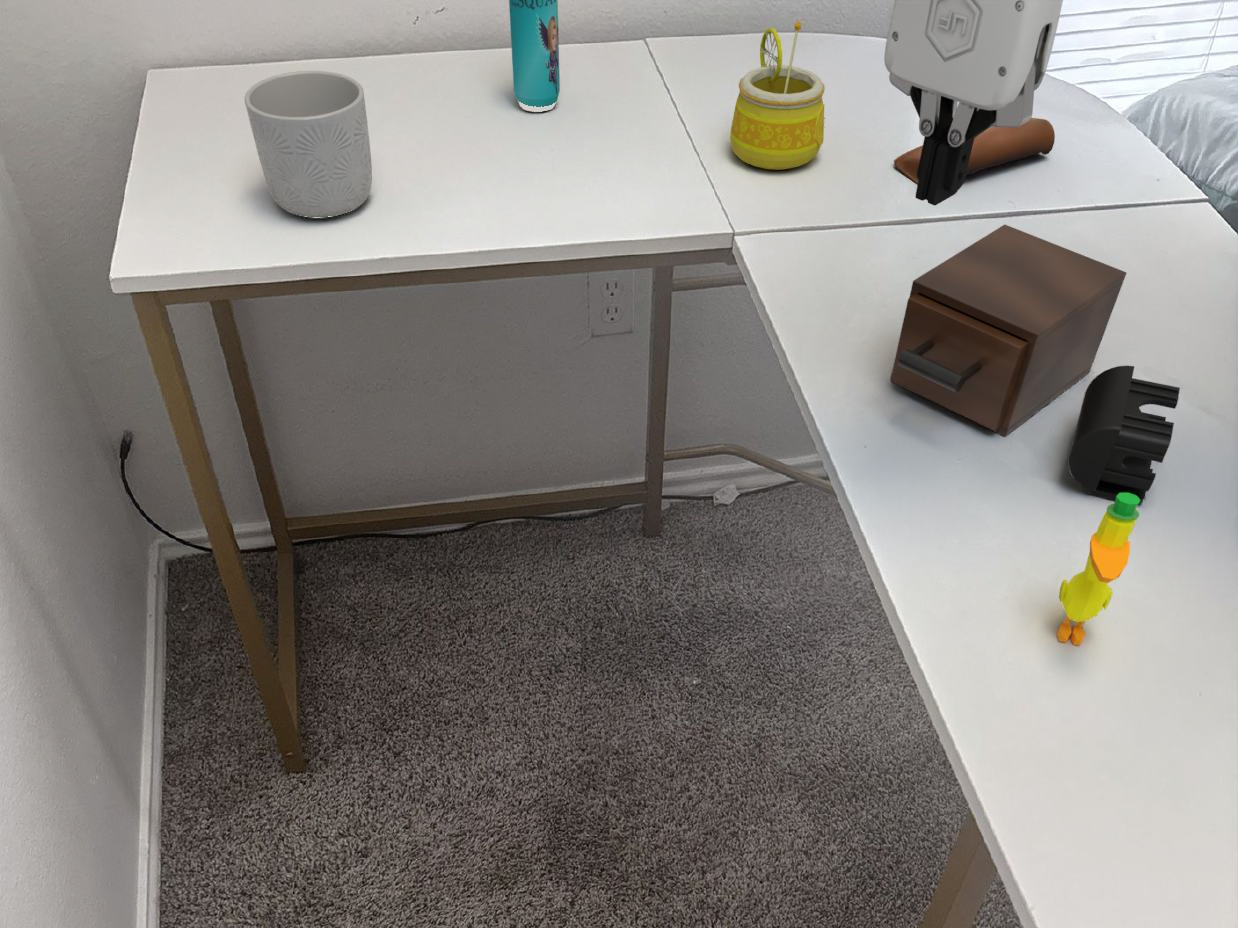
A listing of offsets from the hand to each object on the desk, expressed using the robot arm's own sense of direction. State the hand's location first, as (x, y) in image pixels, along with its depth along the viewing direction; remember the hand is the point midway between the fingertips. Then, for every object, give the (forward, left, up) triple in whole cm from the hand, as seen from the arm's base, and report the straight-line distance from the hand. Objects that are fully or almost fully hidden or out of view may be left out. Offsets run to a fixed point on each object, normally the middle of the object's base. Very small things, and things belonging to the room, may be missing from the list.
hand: (936, 195), depth 83 cm
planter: (+73, +5, -22) cm, 77 cm away
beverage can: (+75, -30, -22) cm, 84 cm away
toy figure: (-24, +8, -22) cm, 34 cm away
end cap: (-15, -13, -22) cm, 30 cm away
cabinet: (0, -18, -22) cm, 28 cm away
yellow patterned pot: (+45, -41, -22) cm, 65 cm away
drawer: (0, -14, -21) cm, 25 cm away
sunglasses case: (+27, -55, -22) cm, 65 cm away
